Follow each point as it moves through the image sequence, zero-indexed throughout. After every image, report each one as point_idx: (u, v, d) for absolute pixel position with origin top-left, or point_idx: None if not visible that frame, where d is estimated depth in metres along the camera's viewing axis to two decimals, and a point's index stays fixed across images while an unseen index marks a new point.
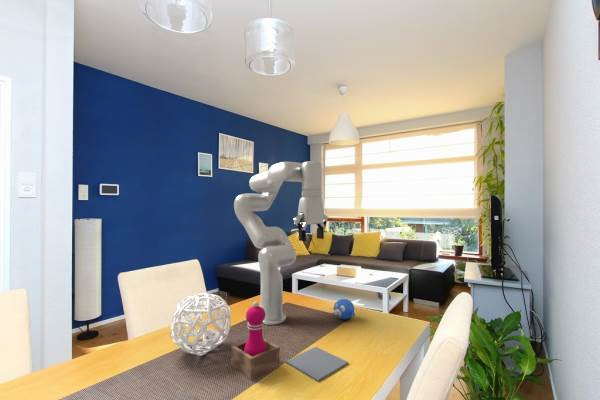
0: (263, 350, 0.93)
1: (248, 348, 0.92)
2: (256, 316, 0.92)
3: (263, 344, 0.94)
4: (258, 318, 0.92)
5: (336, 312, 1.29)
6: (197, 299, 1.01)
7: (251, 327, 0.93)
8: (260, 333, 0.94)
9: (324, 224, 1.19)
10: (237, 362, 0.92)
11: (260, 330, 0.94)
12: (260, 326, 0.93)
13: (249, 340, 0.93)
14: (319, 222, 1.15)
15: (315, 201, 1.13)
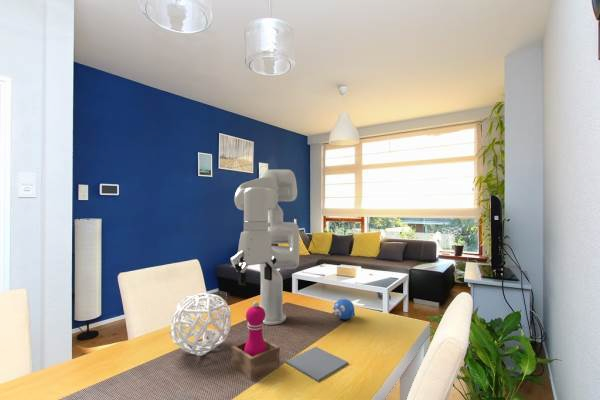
0: (263, 350, 0.93)
1: (248, 348, 0.92)
2: (256, 316, 0.92)
3: (263, 344, 0.94)
4: (258, 318, 0.92)
5: (336, 312, 1.29)
6: (197, 299, 1.01)
7: (251, 327, 0.93)
8: (260, 333, 0.94)
9: (273, 262, 0.99)
10: (237, 362, 0.92)
11: (260, 330, 0.94)
12: (260, 326, 0.93)
13: (249, 340, 0.93)
14: (265, 261, 0.95)
15: (258, 236, 0.92)
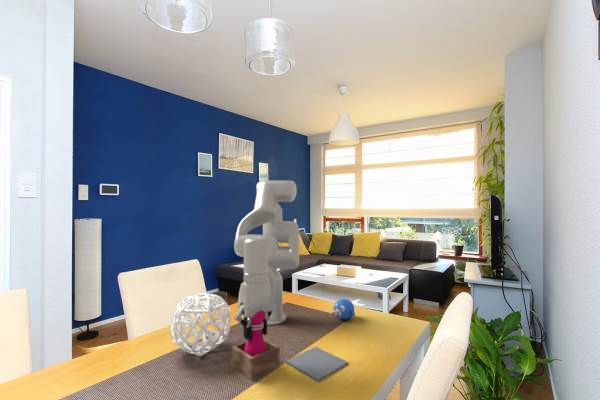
0: (263, 350, 0.93)
1: (248, 348, 0.92)
2: (256, 316, 0.92)
3: (263, 344, 0.94)
4: (258, 318, 0.92)
5: (336, 312, 1.29)
6: (197, 299, 1.01)
7: (251, 327, 0.93)
8: (260, 333, 0.94)
9: (268, 314, 0.97)
10: (237, 362, 0.92)
11: (260, 330, 0.94)
12: (260, 326, 0.93)
13: None
14: (265, 311, 0.95)
15: (258, 288, 0.93)
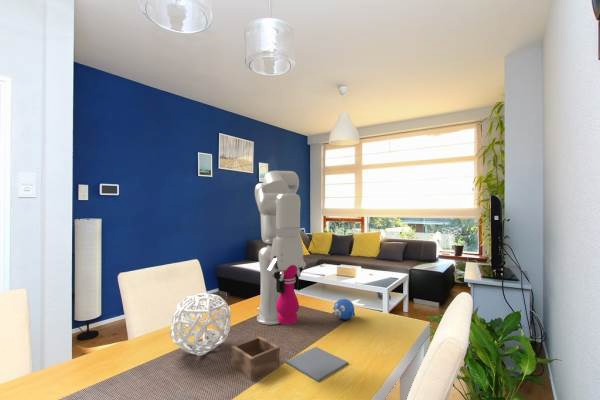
0: (295, 304, 0.94)
1: (281, 301, 0.93)
2: (289, 270, 0.93)
3: (295, 298, 0.95)
4: (291, 271, 0.93)
5: (336, 312, 1.29)
6: (197, 299, 1.01)
7: None
8: (292, 287, 0.95)
9: None
10: (237, 362, 0.92)
11: (292, 284, 0.95)
12: (292, 280, 0.94)
13: (281, 294, 0.94)
14: (297, 266, 0.96)
15: (291, 242, 0.93)
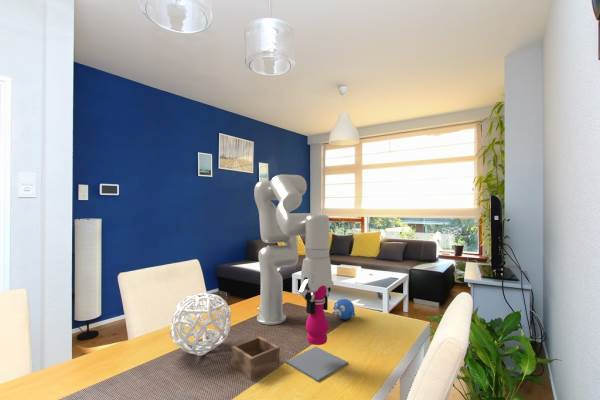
0: (326, 324, 0.94)
1: (312, 322, 0.94)
2: (320, 291, 0.94)
3: (325, 319, 0.95)
4: (321, 292, 0.94)
5: (336, 312, 1.29)
6: (197, 299, 1.01)
7: None
8: (322, 308, 0.95)
9: (327, 290, 0.99)
10: (237, 362, 0.92)
11: (322, 305, 0.95)
12: (323, 301, 0.95)
13: None
14: (326, 287, 0.97)
15: (321, 263, 0.94)
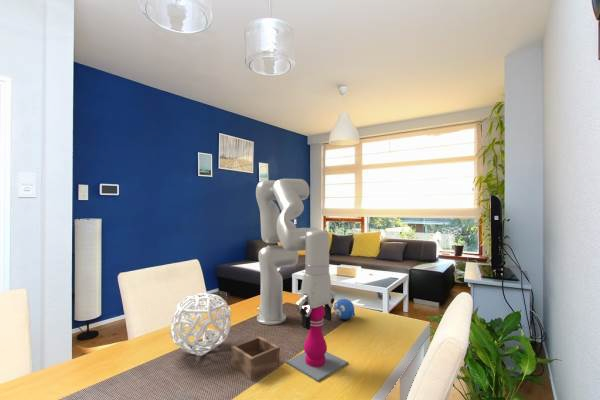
0: (324, 346, 0.94)
1: (310, 344, 0.94)
2: (318, 313, 0.93)
3: (323, 340, 0.95)
4: (319, 314, 0.94)
5: (336, 312, 1.29)
6: (197, 299, 1.01)
7: (312, 323, 0.94)
8: (320, 329, 0.95)
9: (332, 302, 1.00)
10: (237, 362, 0.92)
11: (320, 326, 0.95)
12: (321, 322, 0.95)
13: (310, 336, 0.95)
14: (326, 303, 0.97)
15: (321, 279, 0.94)
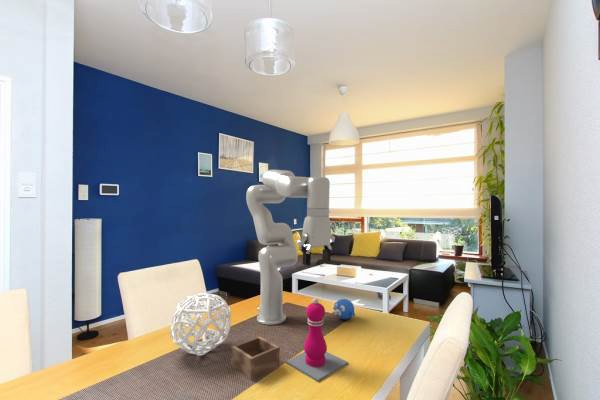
0: (324, 346, 0.94)
1: (310, 344, 0.94)
2: (318, 313, 0.94)
3: (323, 340, 0.95)
4: (319, 314, 0.94)
5: (336, 312, 1.29)
6: (197, 299, 1.01)
7: (312, 323, 0.94)
8: (320, 329, 0.95)
9: (331, 245, 1.09)
10: (237, 362, 0.92)
11: (320, 326, 0.95)
12: (321, 322, 0.95)
13: (310, 336, 0.95)
14: (325, 244, 1.05)
15: (321, 221, 1.02)
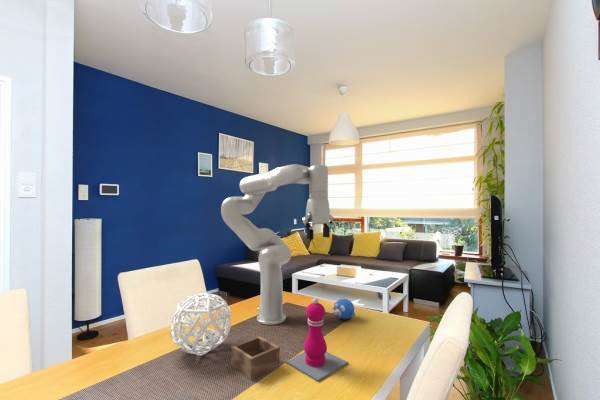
0: (324, 346, 0.94)
1: (310, 344, 0.94)
2: (318, 313, 0.94)
3: (323, 340, 0.95)
4: (319, 314, 0.94)
5: (336, 312, 1.29)
6: (197, 299, 1.01)
7: (312, 323, 0.94)
8: (320, 329, 0.95)
9: (330, 224, 1.27)
10: (237, 362, 0.92)
11: (320, 326, 0.95)
12: (321, 322, 0.95)
13: (310, 336, 0.95)
14: (325, 222, 1.24)
15: (321, 202, 1.21)
